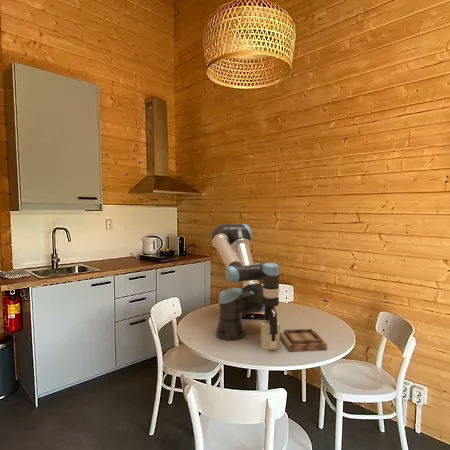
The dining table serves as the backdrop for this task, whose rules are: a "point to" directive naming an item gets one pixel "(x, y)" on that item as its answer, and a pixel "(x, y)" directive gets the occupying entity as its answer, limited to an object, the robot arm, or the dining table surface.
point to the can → (266, 336)
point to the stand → (302, 340)
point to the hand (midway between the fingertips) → (270, 343)
